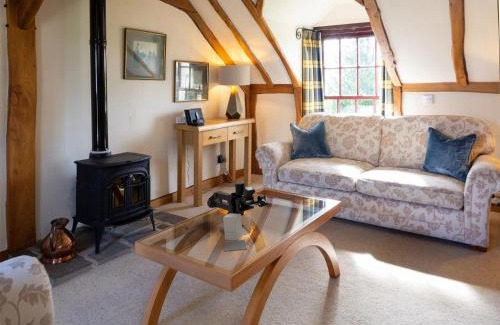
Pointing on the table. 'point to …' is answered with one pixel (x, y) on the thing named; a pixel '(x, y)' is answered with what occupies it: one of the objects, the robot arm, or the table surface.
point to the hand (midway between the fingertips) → (260, 205)
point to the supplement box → (232, 226)
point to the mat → (235, 245)
